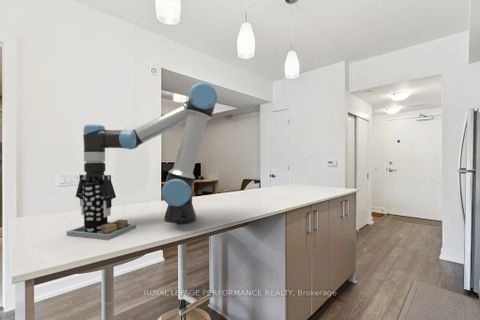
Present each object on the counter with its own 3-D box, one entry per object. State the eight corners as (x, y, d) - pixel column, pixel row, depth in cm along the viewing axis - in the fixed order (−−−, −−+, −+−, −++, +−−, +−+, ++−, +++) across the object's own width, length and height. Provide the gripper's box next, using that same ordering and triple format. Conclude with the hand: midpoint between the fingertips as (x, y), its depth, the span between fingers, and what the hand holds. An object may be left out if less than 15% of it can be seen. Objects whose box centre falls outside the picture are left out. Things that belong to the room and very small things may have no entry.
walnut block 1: (117, 234, 94) (116, 224, 94) (107, 237, 90) (106, 227, 90) (111, 232, 96) (110, 223, 96) (101, 235, 92) (100, 225, 92)
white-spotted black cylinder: (82, 231, 98) (80, 183, 98) (104, 226, 104) (102, 181, 104) (87, 235, 92) (85, 184, 92) (110, 230, 98) (108, 182, 98)
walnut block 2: (127, 229, 100) (127, 219, 100) (122, 232, 96) (122, 222, 96) (118, 228, 101) (118, 219, 101) (113, 231, 97) (112, 222, 97)
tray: (136, 229, 102) (135, 224, 102) (108, 242, 87) (108, 235, 87) (98, 226, 107) (98, 221, 107) (66, 237, 93) (66, 231, 93)
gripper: (125, 162, 98) (125, 214, 99) (81, 162, 104) (82, 211, 105) (110, 162, 91) (111, 219, 91) (64, 162, 97) (65, 215, 98)
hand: (95, 215), depth 98 cm, fingers open, 11 cm apart
